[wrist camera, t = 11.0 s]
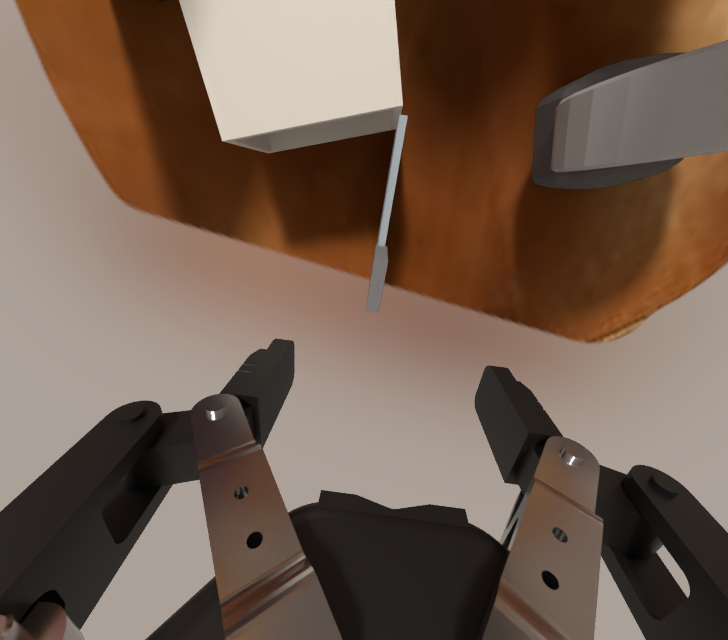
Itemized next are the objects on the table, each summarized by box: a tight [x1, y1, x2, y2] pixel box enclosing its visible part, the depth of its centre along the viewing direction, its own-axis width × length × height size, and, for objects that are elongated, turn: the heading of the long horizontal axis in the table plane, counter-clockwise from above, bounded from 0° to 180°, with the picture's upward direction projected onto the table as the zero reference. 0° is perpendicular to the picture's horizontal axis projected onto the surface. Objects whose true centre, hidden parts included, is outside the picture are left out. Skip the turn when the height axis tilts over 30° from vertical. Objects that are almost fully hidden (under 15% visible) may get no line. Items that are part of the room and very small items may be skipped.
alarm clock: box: [532, 40, 728, 189], centre depth 21 cm, size 16×10×18 cm, turn 100°
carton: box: [179, 0, 403, 154], centre depth 24 cm, size 14×11×10 cm
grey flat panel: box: [366, 115, 408, 312], centre depth 26 cm, size 14×1×15 cm, turn 172°
